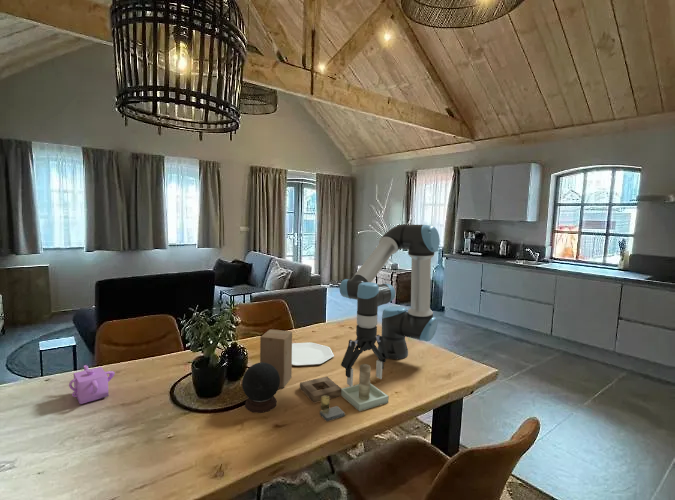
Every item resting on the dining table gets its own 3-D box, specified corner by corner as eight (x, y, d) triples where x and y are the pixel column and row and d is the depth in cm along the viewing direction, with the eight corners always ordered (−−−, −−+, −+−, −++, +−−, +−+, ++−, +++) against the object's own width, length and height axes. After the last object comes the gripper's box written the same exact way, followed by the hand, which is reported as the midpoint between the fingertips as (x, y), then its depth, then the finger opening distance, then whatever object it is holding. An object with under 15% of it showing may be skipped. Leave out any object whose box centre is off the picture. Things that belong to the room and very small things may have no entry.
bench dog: (326, 405, 129) (327, 394, 129) (330, 409, 127) (331, 398, 126) (319, 407, 128) (319, 396, 127) (323, 411, 125) (323, 400, 125)
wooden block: (283, 388, 140) (284, 339, 138) (259, 385, 142) (259, 336, 140) (291, 377, 150) (292, 331, 148) (269, 374, 152) (269, 328, 150)
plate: (343, 353, 179) (343, 350, 179) (309, 373, 156) (309, 369, 156) (299, 341, 193) (299, 339, 193) (263, 358, 170) (263, 355, 170)
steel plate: (337, 409, 127) (337, 405, 127) (344, 416, 123) (344, 412, 122) (319, 414, 123) (319, 410, 123) (326, 421, 119) (326, 418, 119)
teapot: (65, 392, 133) (63, 366, 132) (108, 381, 143) (107, 356, 142) (74, 412, 120) (72, 383, 119) (121, 398, 130) (120, 371, 129)
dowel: (365, 393, 137) (366, 363, 136) (371, 398, 134) (372, 367, 132) (356, 396, 135) (357, 365, 134) (362, 400, 132) (363, 369, 130)
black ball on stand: (239, 398, 132) (239, 359, 131) (274, 392, 137) (275, 354, 136) (245, 417, 120) (245, 374, 119) (283, 410, 125) (284, 368, 124)
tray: (368, 387, 143) (368, 381, 143) (388, 402, 132) (388, 396, 132) (340, 395, 137) (340, 388, 136) (359, 411, 126) (359, 404, 125)
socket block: (326, 382, 147) (326, 376, 147) (342, 395, 137) (342, 389, 136) (299, 388, 141) (300, 382, 140) (313, 403, 130) (313, 396, 130)
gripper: (386, 318, 141) (384, 370, 143) (332, 326, 129) (330, 384, 131) (399, 323, 135) (396, 378, 137) (343, 332, 122) (341, 393, 124)
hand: (364, 381), depth 134 cm, fingers open, 12 cm apart
